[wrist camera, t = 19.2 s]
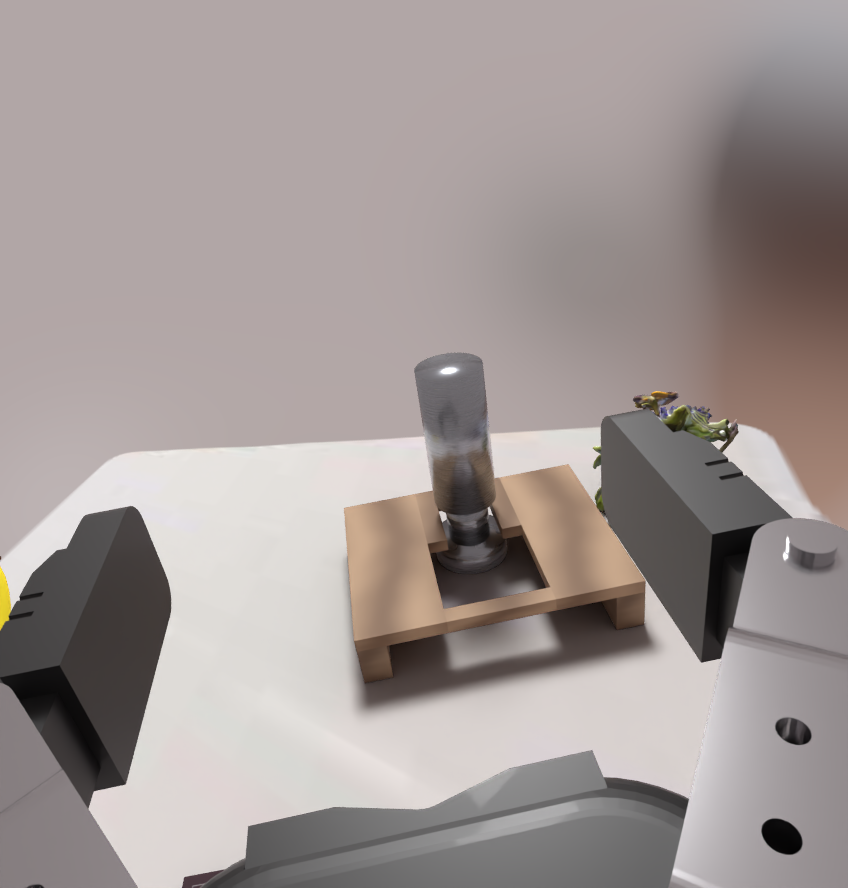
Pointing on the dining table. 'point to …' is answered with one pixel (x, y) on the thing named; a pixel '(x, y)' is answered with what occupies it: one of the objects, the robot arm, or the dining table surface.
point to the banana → (4, 599)
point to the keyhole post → (460, 459)
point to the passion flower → (679, 424)
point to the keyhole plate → (516, 513)
